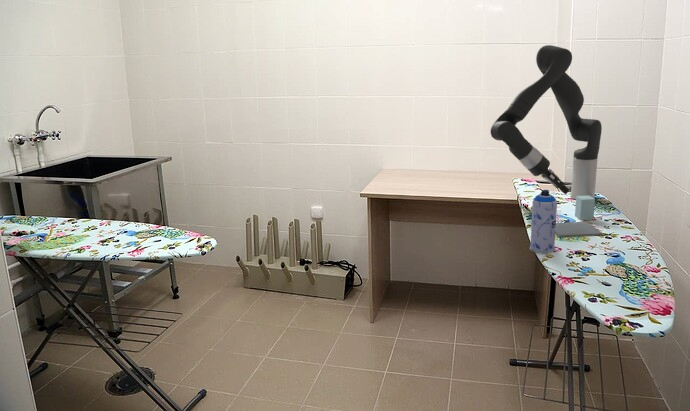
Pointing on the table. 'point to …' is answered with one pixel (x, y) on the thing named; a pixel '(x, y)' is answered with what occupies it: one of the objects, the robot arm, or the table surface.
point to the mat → (576, 229)
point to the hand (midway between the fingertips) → (563, 189)
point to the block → (584, 207)
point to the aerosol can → (543, 223)
